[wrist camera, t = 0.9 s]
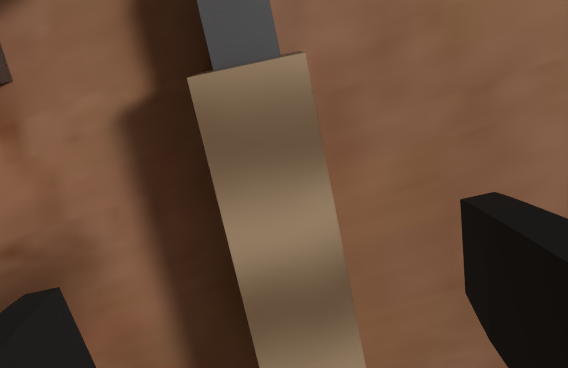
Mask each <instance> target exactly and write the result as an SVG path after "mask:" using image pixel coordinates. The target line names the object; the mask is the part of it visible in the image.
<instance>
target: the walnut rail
mask: <svg viewBox="0 0 568 368" xmlns="http://www.w3.org/2000/svg"><path fill="white" fill-rule="evenodd" d="M197 4H198V8H199V13H200V17H201V21H202V25H203V29H204V34H205V38H206V42H207V46H208V50H209V55H210V59H211V63H212V67H213V70H209V71H204V72H201V73H198V74H195V75H193V76H190V77H187V81H188V85H189V89H190V93H191V97H192V101H193V105H194V109H195V113H196V117H197V121H198V125H199V129H200V133H201V137H202V141H203V145H204V149H205V153H206V157H207V161H208V165H209V169H210V173H211V177H212V181H213V185H214V189H215V192H216V196H217V200H218V204H219V208H220V212H221V216H222V220H223V224H224V228H225V232H226V236H227V240H228V244H229V248H230V252H231V256H232V260H233V264H234V268H235V272H236V276H237V280H238V284H239V288H240V292H241V296H242V300H243V304H244V308H245V312H246V316H247V320H248V324H249V328H250V332H251V336H252V340H253V344H254V348H255V352H256V356H257V360H258V364H259V368H366V366H365V360H364V355H363V350H362V345H361V340H360V334H359V329H358V324H357V319H356V314H355V308H354V303H353V298H352V293H351V288H350V282H349V277H348V272H347V267H346V262H345V257H344V251H343V246H342V241H341V236H340V231H339V225H338V220H337V215H336V210H335V205H334V199H333V194H332V189H331V184H330V179H329V174H328V168H327V163H326V158H325V153H324V148H323V142H322V137H321V132H320V127H319V122H318V116H317V111H316V106H315V101H314V96H313V91H312V85H311V80H310V75H309V70H308V65H307V59H306V54H305V52H301V51H297V52H292V53H288V54H283V55H280V50H279V46H278V41H277V36H276V31H275V26H274V21H273V16H272V11H271V6H270V2H269V0H197Z"/></svg>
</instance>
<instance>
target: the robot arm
mask: <svg viewBox="0 0 568 368" xmlns="http://www.w3.org/2000/svg"><path fill="white" fill-rule="evenodd" d="M460 203H461V221H462V239H463V257H464V275H465V293H466V295H467V297H468V299H469V301H470V303H471V305H472V307H473V309H474V311H475V313H476V315H477V317H478V319H479V321H480V323H481V325H482V326H483V328H484V330H485V332H486V334H487V336H488V338H489V340H490V341H491V343H492V344H493V346H494V347H495V349H496V350H497V352H498V353H499V355H500V356H501V358H502V359H503V361H504V362H505V364H506V365H507V366H508V368H568V219H567V218H564V217H562V216H559V215H557V214H554V213H551V212H549V211H546V210H544V209H541V208H539V207H536V206H533V205H531V204H528V203H526V202H523V201H520V200H518V199H515V198H512V197H509V196H506V195H503V194H500V193H496V192H492V193H487V194H483V195H478V196H474V197H469V198H465V199H460ZM0 368H96V366H95V364H94V362H93V360H92V358H91V355H90V353H89V351H88V349H87V347H86V345H85V342H84V340H83V338H82V336H81V334H80V332H79V329H78V327H77V325H76V323H75V321H74V319H73V316H72V314H71V312H70V310H69V308H68V306H67V303H66V301H65V299H64V297H63V295H62V293H61V290H60V288H59V287H57V288H53V289H48V290H44V291H39V292H35V293H30V294H25V295H24V296H22V297H21V298H19V299H18V300H17V301H15V302H14V303H12V304H11V305H10V306H9V307H7V308H6V309H5V310H4V311H2V312H1V313H0Z"/></svg>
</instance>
